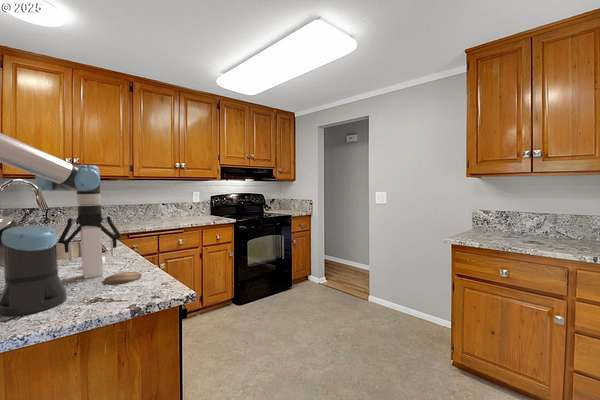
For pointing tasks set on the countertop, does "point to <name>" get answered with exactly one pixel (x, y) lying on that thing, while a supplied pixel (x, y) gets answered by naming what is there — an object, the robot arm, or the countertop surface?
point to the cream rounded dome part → (103, 260)
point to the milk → (91, 251)
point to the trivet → (122, 278)
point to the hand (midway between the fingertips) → (92, 258)
